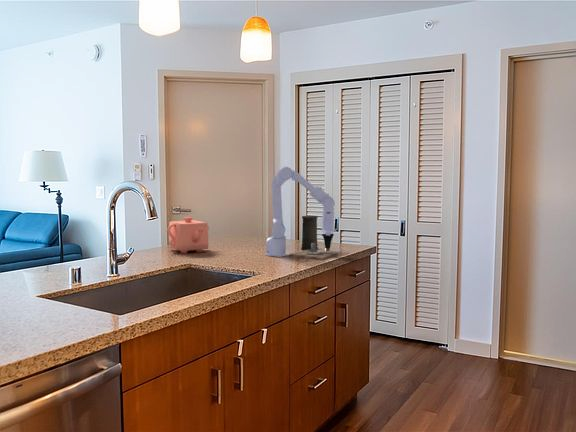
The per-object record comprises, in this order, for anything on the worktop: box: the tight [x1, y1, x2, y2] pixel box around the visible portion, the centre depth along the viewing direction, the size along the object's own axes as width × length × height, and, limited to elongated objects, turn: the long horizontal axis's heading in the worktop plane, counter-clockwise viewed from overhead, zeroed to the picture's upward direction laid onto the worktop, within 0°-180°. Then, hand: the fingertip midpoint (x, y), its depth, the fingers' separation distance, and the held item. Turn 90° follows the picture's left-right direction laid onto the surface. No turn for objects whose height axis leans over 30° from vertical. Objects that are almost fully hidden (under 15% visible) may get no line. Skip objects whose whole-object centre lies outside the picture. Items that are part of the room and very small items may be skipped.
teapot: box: [166, 216, 210, 254], centre depth 266 cm, size 25×23×18 cm
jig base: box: [288, 243, 339, 261], centre depth 256 cm, size 18×18×6 cm
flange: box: [305, 247, 331, 254], centre depth 256 cm, size 12×8×5 cm, turn 101°
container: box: [300, 215, 319, 251], centre depth 276 cm, size 9×9×18 cm
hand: (327, 248), depth 255 cm, fingers closed
